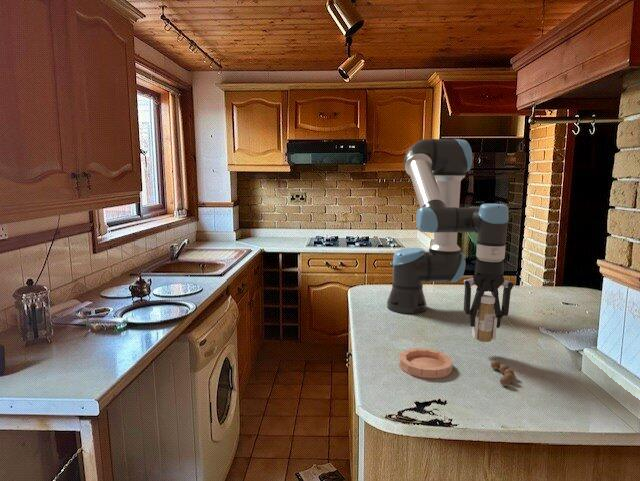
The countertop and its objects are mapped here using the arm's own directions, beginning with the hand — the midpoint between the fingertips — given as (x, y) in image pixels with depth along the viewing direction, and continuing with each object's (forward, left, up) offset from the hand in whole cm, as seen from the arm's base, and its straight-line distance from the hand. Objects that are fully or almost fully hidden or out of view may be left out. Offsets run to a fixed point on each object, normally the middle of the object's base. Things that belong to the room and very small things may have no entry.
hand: (483, 337), depth 124 cm
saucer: (+11, -18, -5) cm, 21 cm away
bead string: (+15, +2, -5) cm, 16 cm away
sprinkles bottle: (0, 0, -1) cm, 1 cm away
